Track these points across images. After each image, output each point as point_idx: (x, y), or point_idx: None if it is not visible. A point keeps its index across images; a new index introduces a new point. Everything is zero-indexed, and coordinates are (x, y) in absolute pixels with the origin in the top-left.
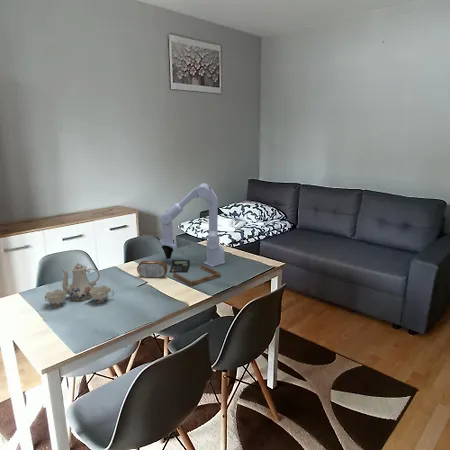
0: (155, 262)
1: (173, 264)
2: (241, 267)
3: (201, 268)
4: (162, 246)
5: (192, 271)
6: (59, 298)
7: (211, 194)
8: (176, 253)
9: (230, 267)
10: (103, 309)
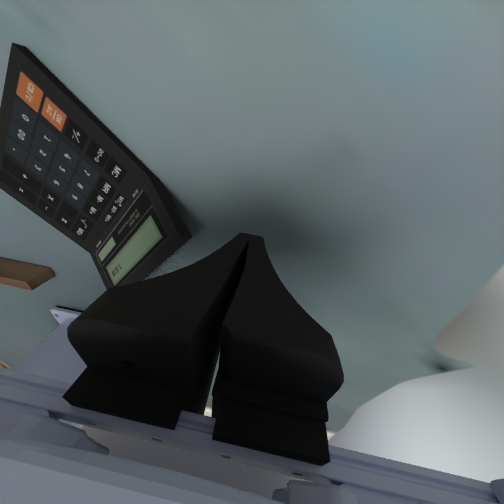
0: None
1: (149, 202)
2: (22, 341)
3: (37, 268)
4: (319, 373)
5: (13, 212)
6: None
7: None
8: (342, 355)
9: (31, 329)
10: None
